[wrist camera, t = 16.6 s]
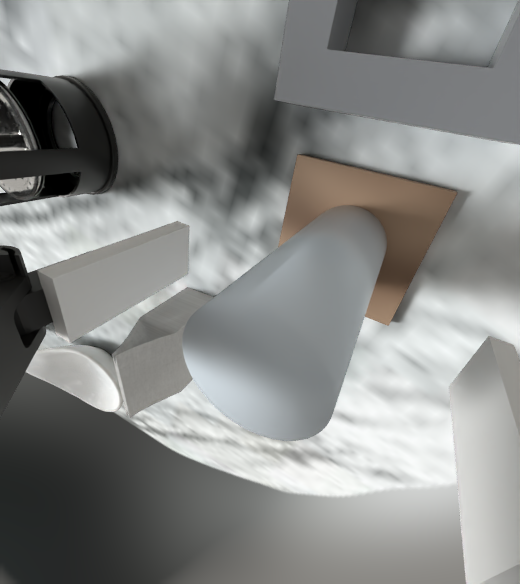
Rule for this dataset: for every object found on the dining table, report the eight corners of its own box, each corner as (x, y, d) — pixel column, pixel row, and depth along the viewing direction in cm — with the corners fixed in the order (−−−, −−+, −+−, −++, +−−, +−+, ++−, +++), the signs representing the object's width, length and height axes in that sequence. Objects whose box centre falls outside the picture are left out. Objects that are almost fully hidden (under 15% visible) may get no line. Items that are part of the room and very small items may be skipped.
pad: (300, 154, 18) (297, 154, 18) (456, 191, 15) (457, 192, 15) (274, 276, 23) (271, 279, 23) (389, 321, 20) (388, 325, 20)
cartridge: (318, 195, 18) (182, 274, 8) (400, 218, 17) (362, 352, 6) (300, 265, 21) (181, 391, 11) (369, 290, 19) (308, 465, 9)
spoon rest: (137, 357, 39) (89, 394, 34) (140, 407, 46) (100, 445, 40) (25, 286, 46) (-31, 308, 40) (42, 339, 52) (-4, 364, 47)
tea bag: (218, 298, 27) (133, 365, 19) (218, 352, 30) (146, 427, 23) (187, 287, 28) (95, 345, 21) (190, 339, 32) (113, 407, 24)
